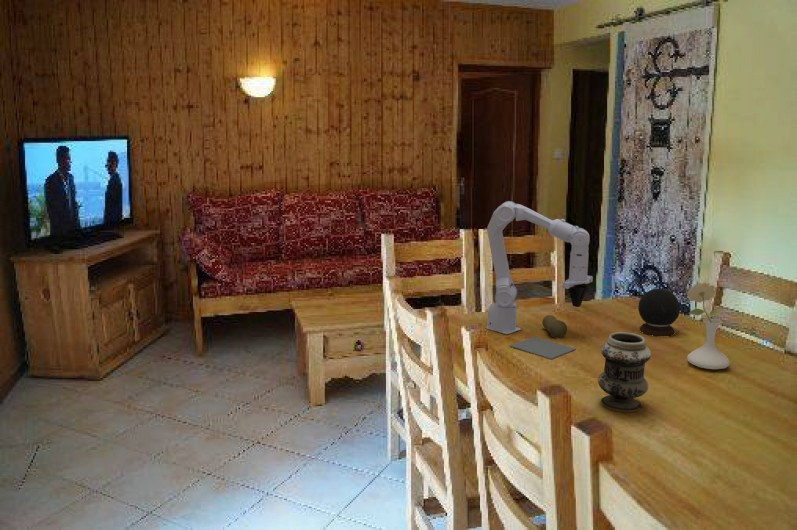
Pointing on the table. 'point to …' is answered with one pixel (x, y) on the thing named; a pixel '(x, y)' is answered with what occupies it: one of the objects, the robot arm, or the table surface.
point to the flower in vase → (707, 331)
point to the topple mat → (542, 348)
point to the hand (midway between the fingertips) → (576, 306)
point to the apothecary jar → (624, 371)
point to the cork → (554, 326)
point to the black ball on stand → (658, 312)
